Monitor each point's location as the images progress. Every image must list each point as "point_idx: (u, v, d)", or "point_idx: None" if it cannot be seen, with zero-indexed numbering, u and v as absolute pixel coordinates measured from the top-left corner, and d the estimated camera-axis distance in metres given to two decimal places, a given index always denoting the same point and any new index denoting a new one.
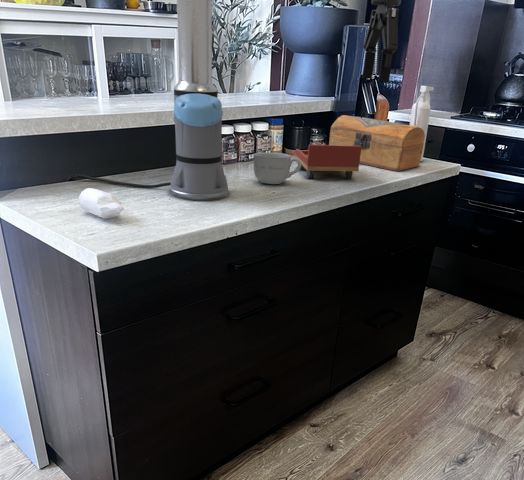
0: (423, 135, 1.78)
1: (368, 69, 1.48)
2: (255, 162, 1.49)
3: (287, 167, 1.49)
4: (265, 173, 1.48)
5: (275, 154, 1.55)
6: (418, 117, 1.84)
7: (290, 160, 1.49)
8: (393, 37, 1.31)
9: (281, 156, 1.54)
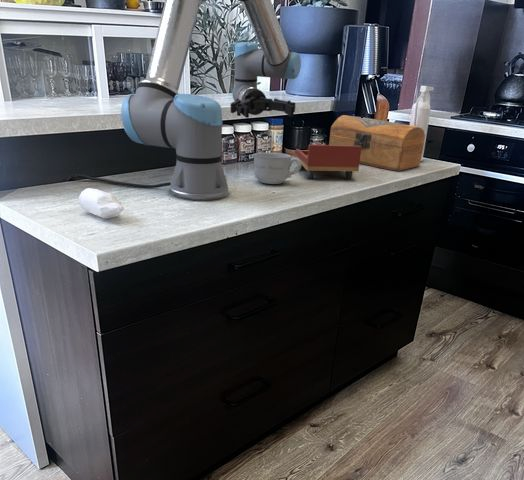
0: (423, 135, 1.78)
1: None
2: (255, 162, 1.49)
3: (287, 167, 1.49)
4: (265, 173, 1.48)
5: (275, 154, 1.55)
6: (418, 117, 1.84)
7: (290, 160, 1.49)
8: None
9: (281, 156, 1.54)
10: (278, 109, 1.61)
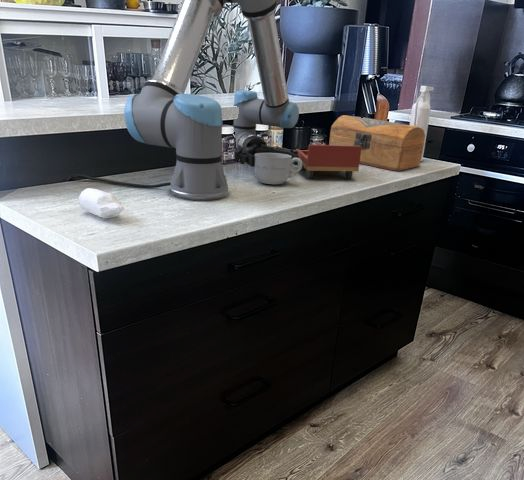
0: (423, 135, 1.78)
1: None
2: (256, 163, 1.48)
3: (289, 167, 1.49)
4: (268, 174, 1.47)
5: (274, 154, 1.54)
6: (418, 117, 1.84)
7: (291, 160, 1.49)
8: None
9: (280, 156, 1.54)
10: None
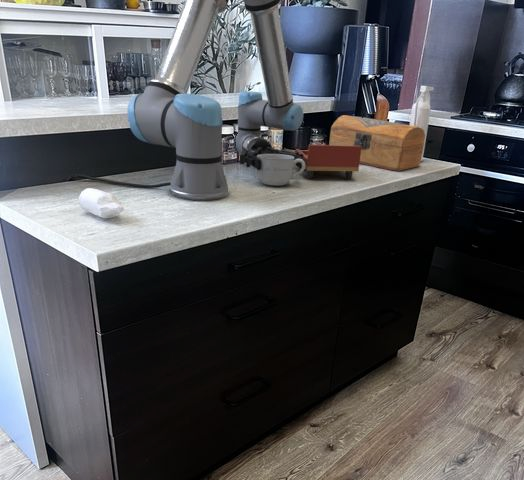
0: (423, 135, 1.78)
1: None
2: None
3: (291, 168, 1.48)
4: (270, 175, 1.46)
5: (277, 155, 1.53)
6: (418, 117, 1.84)
7: (294, 161, 1.48)
8: None
9: (283, 157, 1.53)
10: None
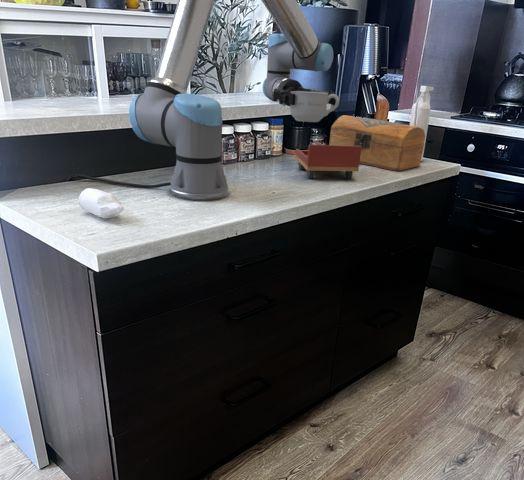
0: (423, 135, 1.78)
1: None
2: None
3: (325, 104, 1.47)
4: (304, 110, 1.46)
5: (310, 93, 1.53)
6: (418, 117, 1.84)
7: (328, 97, 1.47)
8: None
9: None
10: None
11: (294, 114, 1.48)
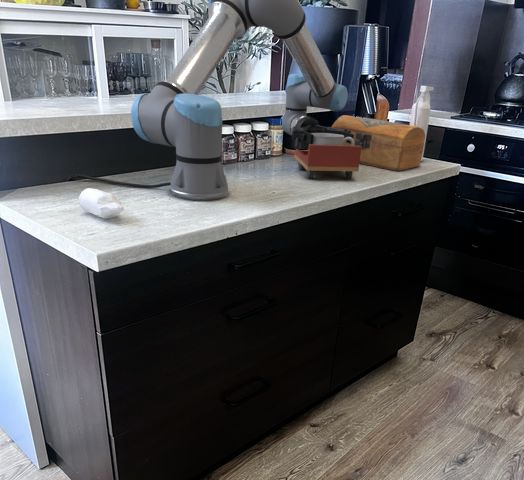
0: (423, 135, 1.78)
1: None
2: None
3: None
4: None
5: (326, 134, 1.65)
6: (418, 117, 1.84)
7: (344, 139, 1.59)
8: None
9: (332, 136, 1.65)
10: None
11: None
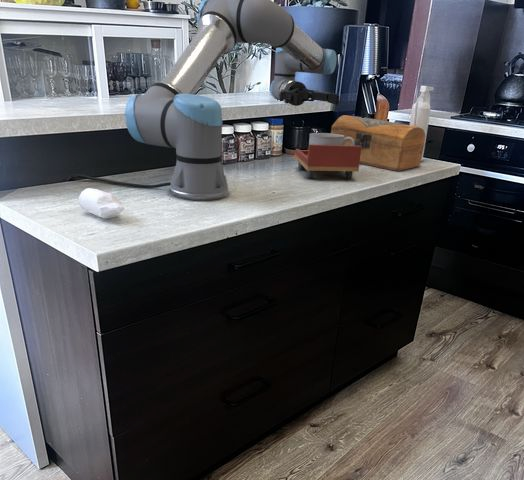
0: (423, 135, 1.78)
1: None
2: (311, 141, 1.59)
3: None
4: None
5: (326, 134, 1.65)
6: (418, 117, 1.84)
7: (344, 139, 1.59)
8: None
9: (332, 136, 1.65)
10: (321, 99, 1.74)
11: None
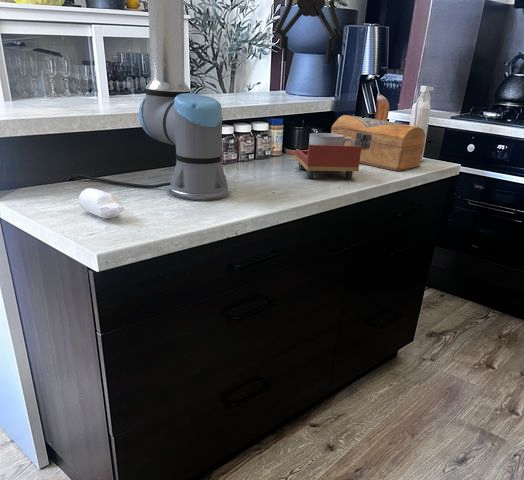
0: (423, 135, 1.78)
1: None
2: (311, 141, 1.59)
3: None
4: None
5: (326, 134, 1.65)
6: (418, 117, 1.84)
7: (344, 139, 1.59)
8: None
9: (332, 136, 1.65)
10: None
11: None
